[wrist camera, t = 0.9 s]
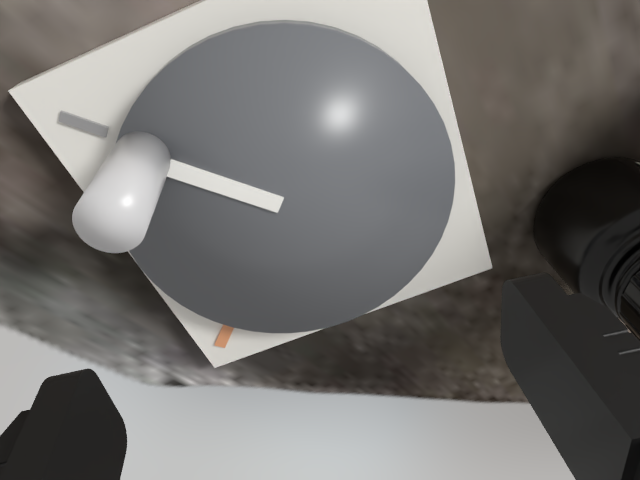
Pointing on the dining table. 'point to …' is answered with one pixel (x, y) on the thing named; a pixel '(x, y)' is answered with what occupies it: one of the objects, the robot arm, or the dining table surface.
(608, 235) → the ink bottle
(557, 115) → the dining table surface
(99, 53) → the dial base
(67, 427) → the robot arm
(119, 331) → the dining table surface
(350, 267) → the dial
